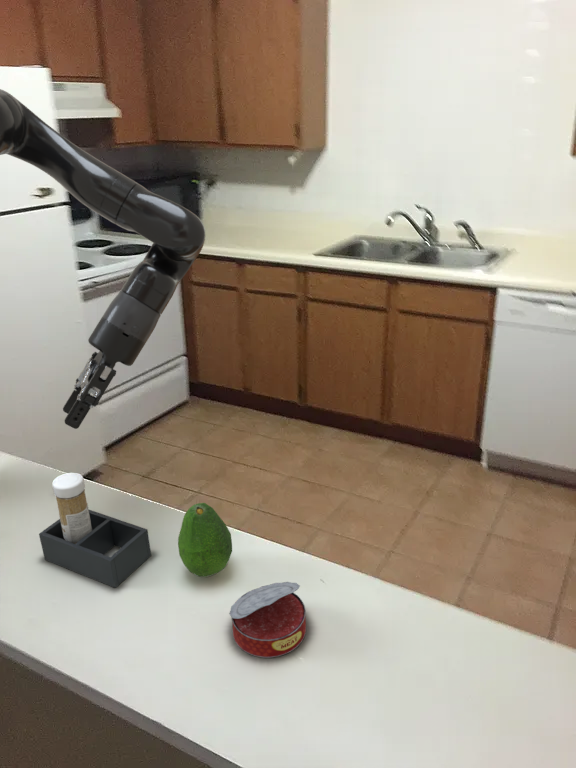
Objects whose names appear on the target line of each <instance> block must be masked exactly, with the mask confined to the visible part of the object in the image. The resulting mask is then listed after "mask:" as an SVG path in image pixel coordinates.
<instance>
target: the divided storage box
mask: <svg viewBox="0 0 576 768" xmlns="http://www.w3.org/2000/svg"><path fill="white" fill-rule="evenodd" d="M88 510H89V515H90V520H91V526H92V531H91V532H90V533H89V534H87V535H86V536H85V537H83V538H82V539H81V540H80V541H78V542H77V543H76V544H74V543H71V542H69V541H66V540H65V539H64V536H63V531H62V526H61V521H60V518H58V519H57V520H56V521H54V522H53V523H51V524H50V525H49V526H47V527H46V528H45V529H43V530H42V531H41V532H40V533H38V536H39V541H40V545H41V549H42V555H43V558H44V560H45V561H47V562H50V563H52V564H53V565H54V564H55V565H57V566H59V567H62V568H63V569H67V570H70V571H71V572H74V573H77V574H79V575H81V576H84V577H87V578H89V579H92V580H94V581H97V582H99V583H102V584H104V585H107V586H109V587H112V588H114V589H116V588H117V587H118V586H119V585H120V584H122V583H123V582H124V581H125V580H127V578H128V577H130V575H132V574H133V573H134V572H135V570H137V569H138V568H139V567H140V566H141V565H142V564H143V563H145V562H147V560H148V559H149V558H150V557H152V550H151V544H150V537H149V530H148V528H145V527H142V526H139V525H135V524H133V523H130V522H127V521H124V520H121V519H119V518H115V517H113V516H109V515H106V514H103V513H101V512H98V511H95V510H92V509H89V508H88ZM114 547H117V548H119V549H118V550H116V552H114V553H113V554H112V555H111V556H109V555H105V554H106V553H108V552H109V551H110V550H112V548H114Z"/></svg>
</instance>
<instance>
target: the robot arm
mask: <svg viewBox="0 0 576 768" xmlns="http://www.w3.org/2000/svg"><path fill="white" fill-rule="evenodd" d="M3 155H9V156H11V157H13V158H16V159H18V160H21V161H23V162H26V163H27V164H30V165H31V166H34V167H35V168H37V169H38V170H40V171H42V172H43V173H45V174H46V175H49V176H50V178H52V179H54V180H55V181H56V182H57V183H59V184H60V185H61V186H62V187H63V188H64V189H65V190H66V191H68V193H69V194H71V195H72V196H73V198H75V199H76V200H77V201H78V202H80V203H81V204H82V205H84V206H85V207H87V208H88V209H89V210H91V211H93V212H94V213H96V214H97V215H100V216H101V217H103V218H104V219H106V220H108V221H109V222H110V223H112V224H114V225H116V226H118V227H120V228H122V229H124V230H126V231H128V232H133V233H136V234H138V235H140V236H141V237H142V238H145V239H146V240H148V241H150V242H151V243H152V245H151V246H150V248H149V249H148V251H147V253H146V254H145V256H144V258H143V260H142V261H140V262H139V263H137V265H135V267H134V269H133V270H132V271H131V272H130V274H129V276H128V278H127V280H125V282H124V284H123V285H122V288H121V289H120V290H119V292H118V293H117V295H116V296H115V297H114V298H113V299H112V301H111V302H110V303H109V305H108V307H107V308H106V310H105V312H104V313H103V315H102V316H101V318H100V320H98V323H97V324H96V326H95V328H94V329H93V331H92V333H91V334H90V335H89V337H88V344H89V345H90V346H92V347H93V348H95V349H96V350H98V352H97V351H94V352H93V353H91V357H89V359H87V361H86V363H85V365H84V368H83V369H82V370H81V372H80V373H79V375H78V377H77V378H76V380H75V384H74V388H73V390H72V392H71V394H70V396H69V397H68V399H67V400H66V402H65V403H64V406H63V407H62V411H63V412H64V413H66V414H67V415H66V416H65V418H64V424H65V425H66V426H69V427H70V428H72V429H75V430H76V429H79V427H80V426H81V425H82V423H83V421H84V420H85V418H86V416H87V415H88V413H89V412H90V410H91V409H92V408H95V407H97V406H98V405H99V404H100V403H99V402H100V400H102V397H103V395H104V394H105V393H106V391H107V389H108V387H109V385H110V384H111V382H112V381H113V378H114V377H115V376H116V375H117V370H115V369H114V368H115V367H116V364H117V363H121V364H123V365H124V366H126V367H127V366H128V367H131V366H133V365H134V363H135V362H136V360H137V358H138V357H139V355H140V353H141V352H142V350H143V348H144V347H145V346H146V344H147V342H148V340H149V339H150V336H151V335H152V333H153V332H154V331H155V328H156V326H157V324H158V322H159V319H160V318H161V315H162V314H163V312H164V311H165V309H166V308H167V306H168V304H169V303H170V300H171V299H172V298H173V296H174V294H175V292H176V290H177V288H178V285H179V283H181V281H182V280H183V278H184V277H185V275H186V274H187V272H188V271H189V270H190V268H191V267H192V266H193V264H194V263H195V262H196V259H197V258H198V257H199V255H200V253H201V251H202V250H203V248H204V244H205V242H206V235H207V234H206V228H205V225H204V223H203V221H202V220H201V219H200V218H199V216H198V215H197V214H195V213H194V212H192V211H191V210H190V209H188V208H186V207H184V206H183V205H181V204H179V203H176V202H175V201H173V200H171V199H168V198H166V197H164V196H162V195H159V194H157V193H155V192H152V191H150V190H149V189H147V188H146V187H145V186H143V185H142V184H140V183H138V182H137V181H135V180H134V179H132V178H130V177H129V176H127V175H125V174H123V173H122V172H120V171H118V170H117V169H115V168H114V167H112V166H110V165H109V164H107V163H105V162H104V161H102V160H100V159H99V158H97V157H95V156H93V155H92V154H90V153H89V152H87V151H86V150H84V149H83V148H81V147H80V146H78V145H76V144H75V143H73V142H72V141H70V140H69V139H68V138H66V137H64V135H62V134H60V133H59V132H58V131H57V130H55V129H54V128H52V126H50V125H49V124H47V123H46V122H45V121H44V120H43V119H42V118H40V117H39V116H38V115H37V114H36V113H34V112H33V110H30V109H29V108H28V107H27V106H26V105H25V104H24V103H22V102H21V101H20V100H18V99H17V98H16V97H15V96H14V95H13V94H11V93H9V91H6V90H4V89H1V88H0V156H3Z"/></svg>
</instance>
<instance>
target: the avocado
mask: <svg viewBox="0 0 576 768" xmlns="http://www.w3.org/2000/svg"><path fill="white" fill-rule="evenodd" d="M177 545H178V554H179V557H180V559H181V561H182V563H183V565H184V566H185V568H186V569H187V570H188V571H189V572H190V573H191V574H193V575H195V576H197V577H201V578H202V577H206V578H207V577H211V576H213V575H216V574H218V573H219V572H221V571H222V570H224V569H225V567H226V566H227V565H228V563H229V561H230V559H231V556H232V553H233V541H232V533H231V531H230V530H229V527H227V524H226V523H225V522H224V520H223V519H222V518H221V517H220V515H219V514H218V512H217V511H216V510H215V509H214V508H213V507H212V506H210V505H209V504H207V503H206V502H198V503H195V504H193V505H191V506H190V507H189V508H188V509H187V511H186V512H185V513H184V515H183V518H182V522H181V527H180V529H179V534H178V538H177Z"/></svg>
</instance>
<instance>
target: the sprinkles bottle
mask: <svg viewBox="0 0 576 768" xmlns="http://www.w3.org/2000/svg"><path fill="white" fill-rule="evenodd" d="M51 485H52V491H53V494H54V497H56V498H55V499H56V504H57V508H58V515H59V519H60V521H61V526H62V531H63V536H64V539H65V540H66V541H69V542H71V543H74V544H76V543H77V542H78V541H80V540H81V539H82V538H83V537H85V536H86V535H87V534H89V533H90V532H91V531H92V526H91V520H90V515H89V510H90V509H89V505H88V502H87V496H86V484H85V479H84V477H83V475H82V474H81V473H78V472H66V473H63V474H60V475H58V476H56V477H55V478H54V479H53V481H52V484H51ZM88 509H89V510H88Z"/></svg>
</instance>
